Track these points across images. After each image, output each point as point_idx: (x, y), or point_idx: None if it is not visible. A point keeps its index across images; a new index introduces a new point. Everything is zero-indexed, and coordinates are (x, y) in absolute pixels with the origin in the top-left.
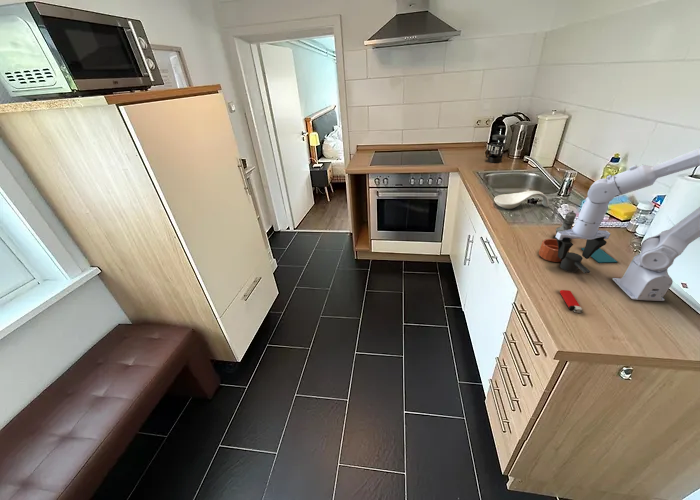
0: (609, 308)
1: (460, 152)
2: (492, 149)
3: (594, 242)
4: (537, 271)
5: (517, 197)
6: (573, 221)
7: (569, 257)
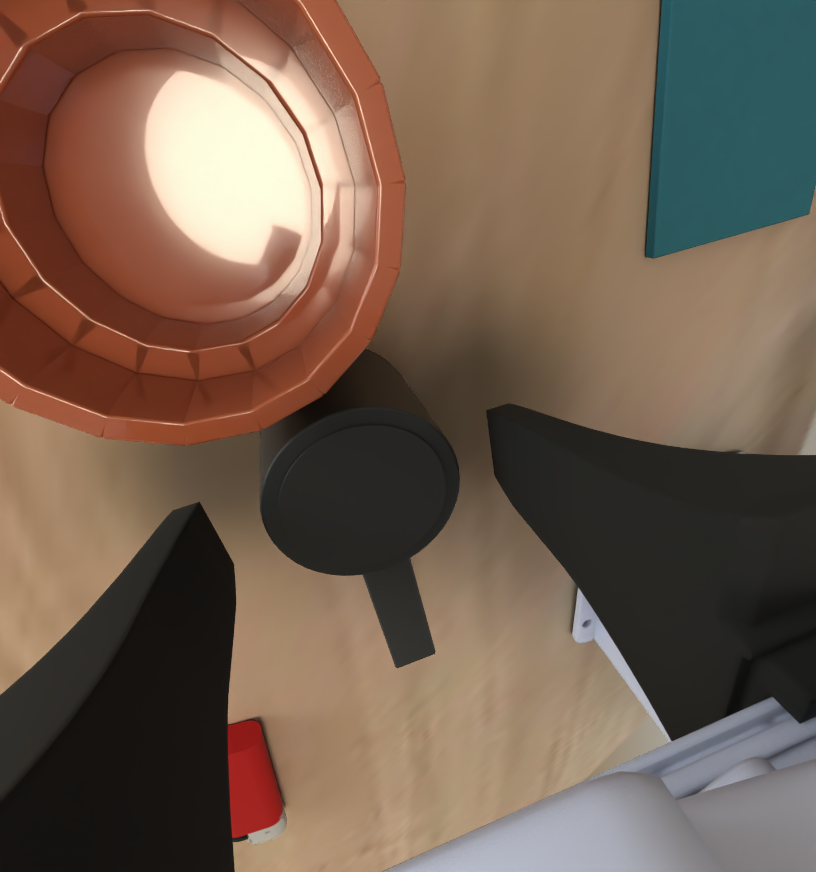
0: (430, 727)
1: None
2: None
3: (673, 678)
4: (19, 563)
5: None
6: None
7: (304, 549)
